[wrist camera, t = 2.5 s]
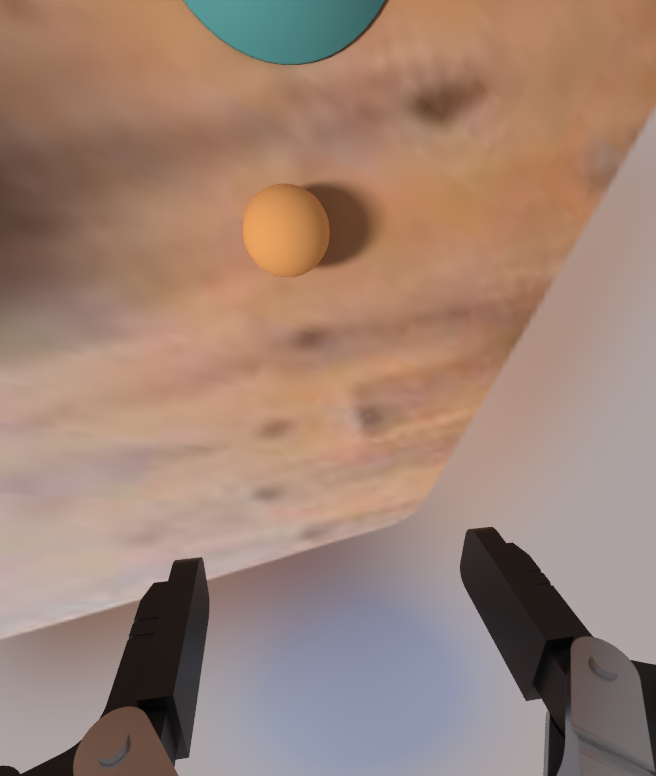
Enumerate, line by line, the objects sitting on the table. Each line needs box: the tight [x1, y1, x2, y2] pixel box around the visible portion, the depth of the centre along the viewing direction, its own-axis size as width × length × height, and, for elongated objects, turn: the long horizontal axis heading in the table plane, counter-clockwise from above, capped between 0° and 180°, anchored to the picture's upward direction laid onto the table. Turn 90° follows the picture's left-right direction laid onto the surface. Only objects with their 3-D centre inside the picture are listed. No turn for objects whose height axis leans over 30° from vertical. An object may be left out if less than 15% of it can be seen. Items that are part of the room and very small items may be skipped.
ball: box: [242, 184, 330, 277], centre depth 23 cm, size 5×5×5 cm
